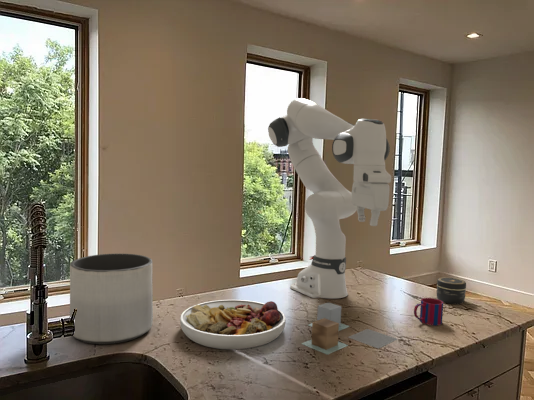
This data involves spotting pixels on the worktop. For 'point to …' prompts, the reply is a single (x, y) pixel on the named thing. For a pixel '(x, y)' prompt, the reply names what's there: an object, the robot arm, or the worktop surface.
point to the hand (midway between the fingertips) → (367, 223)
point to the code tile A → (328, 351)
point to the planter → (111, 297)
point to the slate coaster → (372, 338)
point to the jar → (451, 290)
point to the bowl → (232, 323)
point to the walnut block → (325, 333)
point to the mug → (430, 311)
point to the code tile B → (339, 326)
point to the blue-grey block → (329, 312)
